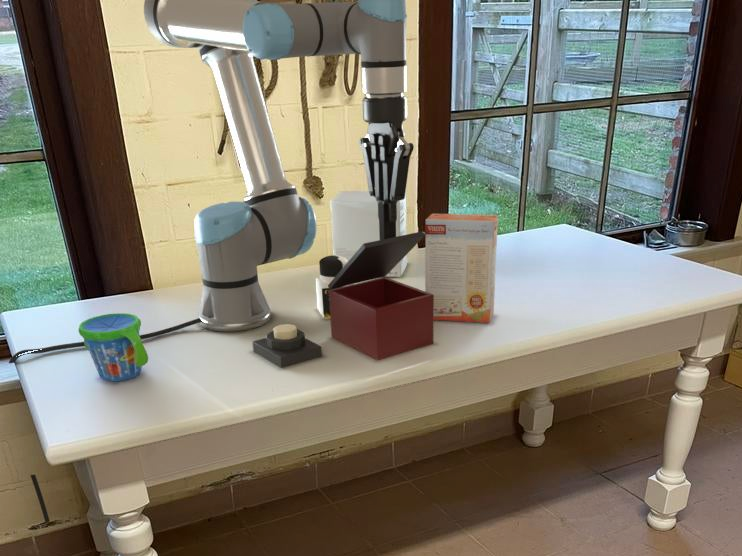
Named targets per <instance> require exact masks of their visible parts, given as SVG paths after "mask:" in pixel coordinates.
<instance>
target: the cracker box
mask: <svg viewBox="0 0 742 556" xmlns="http://www.w3.org/2000/svg"><path fill="white" fill-rule="evenodd" d="M498 221H499V215H497V214H471V213H470V214H467V213H466V214H465V213H431V214H429V216H428V217H427V218H426V219H425V251H424V252H425V254H424V255H425V257H424V259H425V261H424V264H425V265H424V267H425V269H424V270H425V276H424V277H425V278H424V279H425V281H424V284H425V285H424V286H425V289H424V291H425V292H428V293H430V294H433V295H434V320H433V321H447V322H448V321H451V322H463V323H465V322H466V323H480V324H490V323H491V320H492V319H493V317H494V314H495V313H494V312H495V295H496V293H495V292H496V270H497V268H496V267H497V252H498V251H497V247H498V224H499V222H498Z"/></svg>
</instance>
